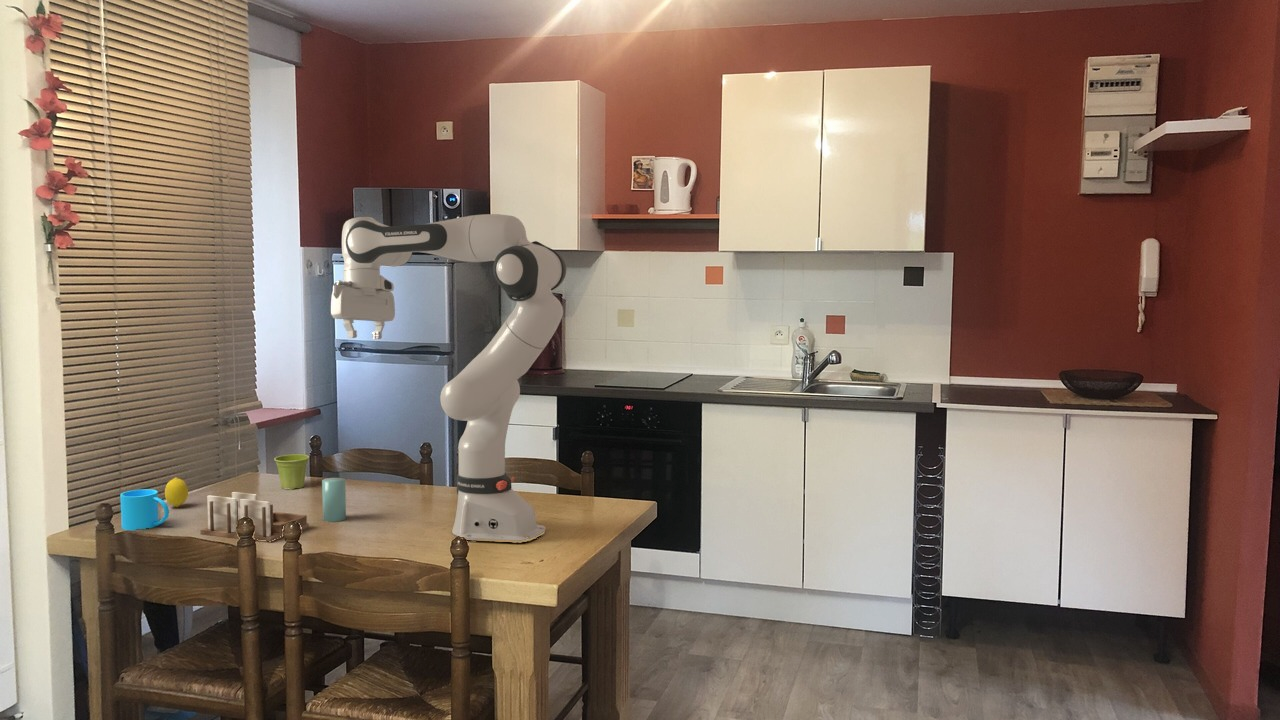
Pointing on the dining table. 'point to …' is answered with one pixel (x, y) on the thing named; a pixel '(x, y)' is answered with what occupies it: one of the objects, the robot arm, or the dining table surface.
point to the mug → (141, 509)
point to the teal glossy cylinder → (334, 499)
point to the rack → (246, 505)
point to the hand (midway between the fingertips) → (365, 338)
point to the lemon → (176, 492)
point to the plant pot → (292, 470)
